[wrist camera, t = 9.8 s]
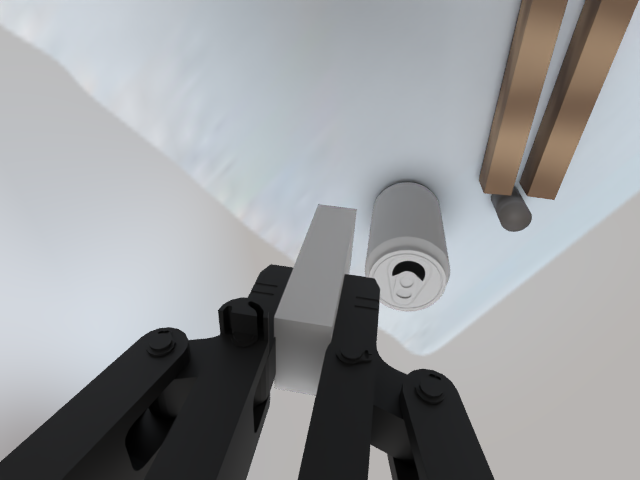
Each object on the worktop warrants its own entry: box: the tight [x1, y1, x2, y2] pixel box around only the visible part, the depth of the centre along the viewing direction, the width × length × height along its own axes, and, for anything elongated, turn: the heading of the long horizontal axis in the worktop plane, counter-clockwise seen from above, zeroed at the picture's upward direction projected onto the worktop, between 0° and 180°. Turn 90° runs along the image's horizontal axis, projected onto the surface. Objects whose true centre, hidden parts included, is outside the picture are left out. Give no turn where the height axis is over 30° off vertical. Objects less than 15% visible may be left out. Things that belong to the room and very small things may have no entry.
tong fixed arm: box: [491, 0, 639, 232], centre depth 32 cm, size 19×4×4 cm, turn 176°
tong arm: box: [479, 0, 568, 196], centre depth 32 cm, size 16×2×3 cm, turn 179°
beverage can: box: [365, 182, 450, 311], centre depth 35 cm, size 6×6×12 cm
